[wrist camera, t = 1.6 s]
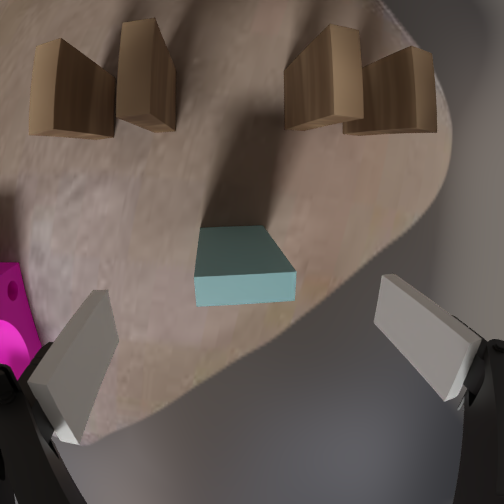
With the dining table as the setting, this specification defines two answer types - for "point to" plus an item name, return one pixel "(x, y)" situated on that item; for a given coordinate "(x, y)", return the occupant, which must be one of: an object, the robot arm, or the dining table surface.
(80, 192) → the dining table surface
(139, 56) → the domino
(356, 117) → the domino
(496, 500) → the robot arm
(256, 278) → the domino
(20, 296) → the toy block
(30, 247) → the dining table surface
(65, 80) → the domino
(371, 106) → the domino
